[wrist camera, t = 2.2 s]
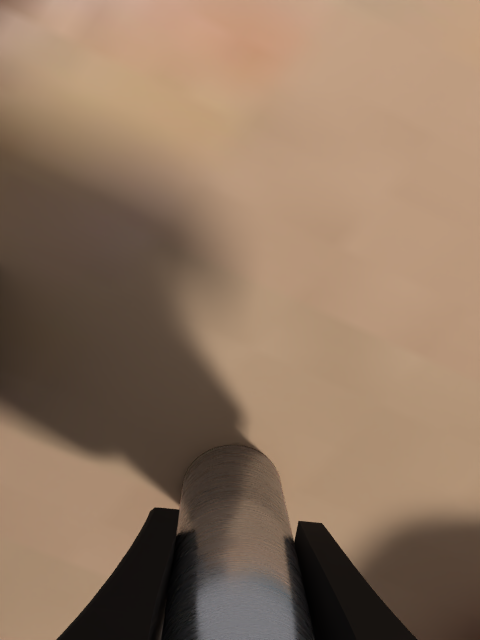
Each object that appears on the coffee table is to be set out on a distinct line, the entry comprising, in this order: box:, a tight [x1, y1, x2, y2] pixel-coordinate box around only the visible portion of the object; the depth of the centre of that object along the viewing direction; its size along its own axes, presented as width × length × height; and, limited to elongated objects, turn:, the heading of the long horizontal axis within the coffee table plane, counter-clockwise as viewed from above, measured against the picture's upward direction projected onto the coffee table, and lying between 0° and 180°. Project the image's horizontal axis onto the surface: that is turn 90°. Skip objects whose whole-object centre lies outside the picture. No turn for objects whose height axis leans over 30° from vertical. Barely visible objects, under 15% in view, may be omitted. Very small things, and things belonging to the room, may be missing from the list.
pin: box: [161, 445, 315, 640], centre depth 10 cm, size 3×3×7 cm
